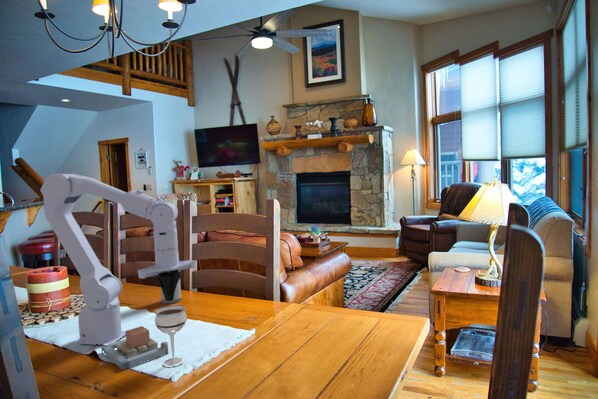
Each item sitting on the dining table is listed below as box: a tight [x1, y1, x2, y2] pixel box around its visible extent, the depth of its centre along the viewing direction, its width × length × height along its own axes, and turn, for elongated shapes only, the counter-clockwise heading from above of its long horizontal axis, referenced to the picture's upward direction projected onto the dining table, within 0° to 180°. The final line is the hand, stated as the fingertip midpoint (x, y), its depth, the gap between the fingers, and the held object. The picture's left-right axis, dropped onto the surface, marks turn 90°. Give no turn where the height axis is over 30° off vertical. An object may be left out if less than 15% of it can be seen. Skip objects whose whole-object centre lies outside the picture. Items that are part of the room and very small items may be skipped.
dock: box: [100, 338, 169, 371], centre depth 96 cm, size 11×13×2 cm
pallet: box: [116, 337, 159, 359], centre depth 96 cm, size 7×7×2 cm
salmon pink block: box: [124, 325, 151, 348], centre depth 96 cm, size 4×4×3 cm
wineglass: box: [154, 304, 188, 366], centre depth 90 cm, size 7×7×12 cm
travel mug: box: [160, 252, 182, 305], centre depth 135 cm, size 6×7×20 cm
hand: (169, 300), depth 106 cm, fingers closed
